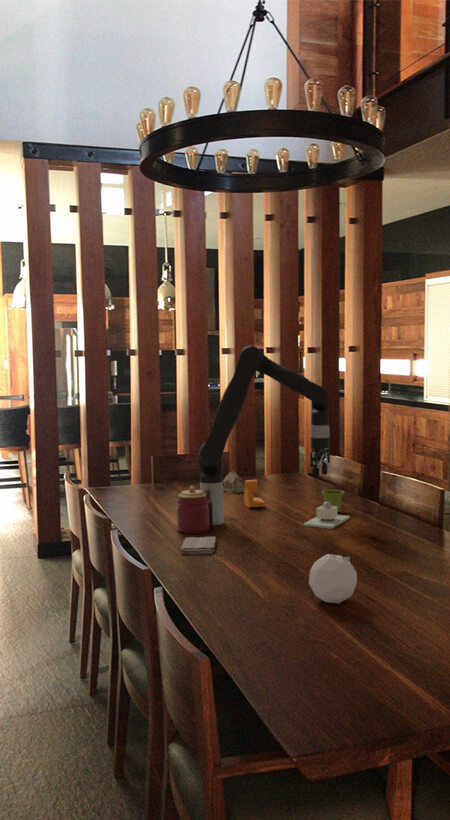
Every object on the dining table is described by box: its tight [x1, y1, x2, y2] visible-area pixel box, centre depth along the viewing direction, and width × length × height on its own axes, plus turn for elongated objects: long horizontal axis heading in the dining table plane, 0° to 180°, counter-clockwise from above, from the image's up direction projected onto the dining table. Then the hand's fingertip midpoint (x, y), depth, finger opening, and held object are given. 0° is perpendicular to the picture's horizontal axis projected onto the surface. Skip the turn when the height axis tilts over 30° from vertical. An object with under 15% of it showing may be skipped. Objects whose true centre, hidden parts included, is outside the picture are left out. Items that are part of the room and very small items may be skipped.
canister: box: [175, 485, 211, 534], centre depth 301 cm, size 13×13×18 cm
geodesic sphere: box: [308, 553, 358, 604], centre depth 213 cm, size 14×14×14 cm
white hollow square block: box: [315, 505, 338, 520], centre depth 309 cm, size 6×6×4 cm
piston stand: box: [303, 502, 351, 530], centre depth 309 cm, size 20×12×8 cm, turn 150°
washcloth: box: [180, 536, 217, 556], centre depth 275 cm, size 12×18×3 cm, turn 179°
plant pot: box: [321, 489, 345, 513], centre depth 328 cm, size 9×9×9 cm
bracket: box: [243, 479, 265, 509], centre depth 344 cm, size 11×7×12 cm, turn 11°
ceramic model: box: [223, 470, 245, 494], centre depth 383 cm, size 14×11×10 cm
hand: (320, 475), depth 310 cm, fingers open, 8 cm apart
